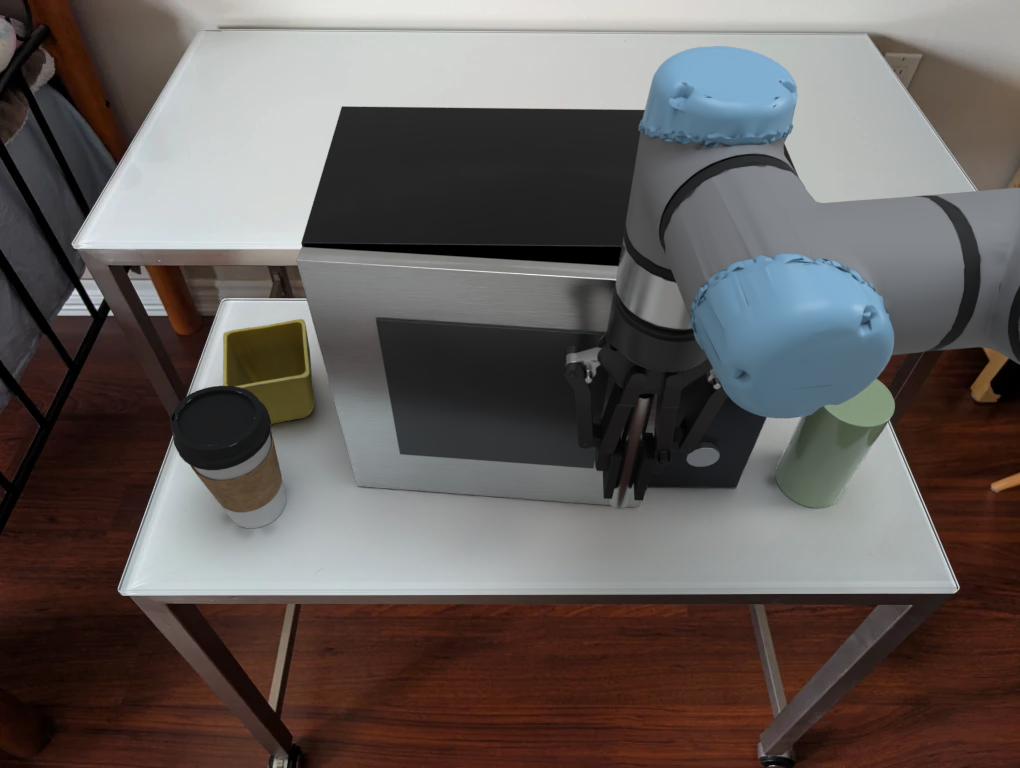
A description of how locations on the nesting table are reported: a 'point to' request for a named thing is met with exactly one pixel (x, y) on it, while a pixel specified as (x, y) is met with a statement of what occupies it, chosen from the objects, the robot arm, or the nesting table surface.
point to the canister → (832, 446)
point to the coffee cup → (231, 452)
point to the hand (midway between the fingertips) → (622, 486)
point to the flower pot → (272, 367)
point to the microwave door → (467, 372)
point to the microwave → (504, 212)
